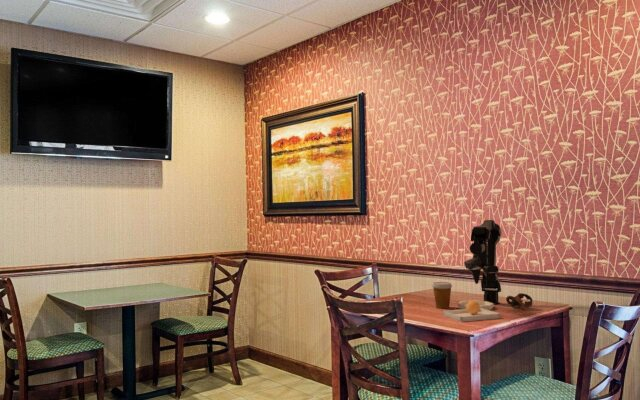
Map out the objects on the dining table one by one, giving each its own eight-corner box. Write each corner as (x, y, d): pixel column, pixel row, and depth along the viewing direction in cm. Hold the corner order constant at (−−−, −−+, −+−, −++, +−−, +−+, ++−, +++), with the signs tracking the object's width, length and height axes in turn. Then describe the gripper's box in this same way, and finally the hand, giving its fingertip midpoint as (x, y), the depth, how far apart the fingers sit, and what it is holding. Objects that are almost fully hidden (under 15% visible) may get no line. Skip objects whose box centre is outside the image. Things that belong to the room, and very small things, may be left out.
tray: (480, 312, 254) (480, 307, 254) (500, 318, 239) (500, 313, 239) (442, 315, 248) (442, 311, 248) (460, 321, 233) (460, 317, 233)
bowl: (480, 304, 275) (480, 299, 275) (499, 309, 260) (499, 304, 260) (452, 306, 270) (452, 301, 270) (470, 311, 255) (470, 307, 255)
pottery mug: (527, 307, 266) (533, 294, 262) (529, 319, 258) (535, 305, 254) (503, 301, 268) (508, 287, 264) (504, 312, 260) (509, 299, 256)
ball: (475, 312, 250) (474, 299, 250) (483, 314, 244) (482, 301, 244) (464, 313, 248) (463, 300, 248) (471, 315, 242) (470, 302, 243)
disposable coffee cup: (452, 309, 262) (452, 284, 262) (432, 309, 264) (432, 284, 264) (452, 305, 271) (451, 281, 271) (432, 305, 273) (432, 281, 273)
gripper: (456, 252, 266) (456, 283, 266) (477, 255, 249) (478, 289, 249) (475, 250, 270) (476, 282, 270) (498, 254, 252) (499, 287, 252)
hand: (482, 285), depth 260 cm, fingers open, 9 cm apart
